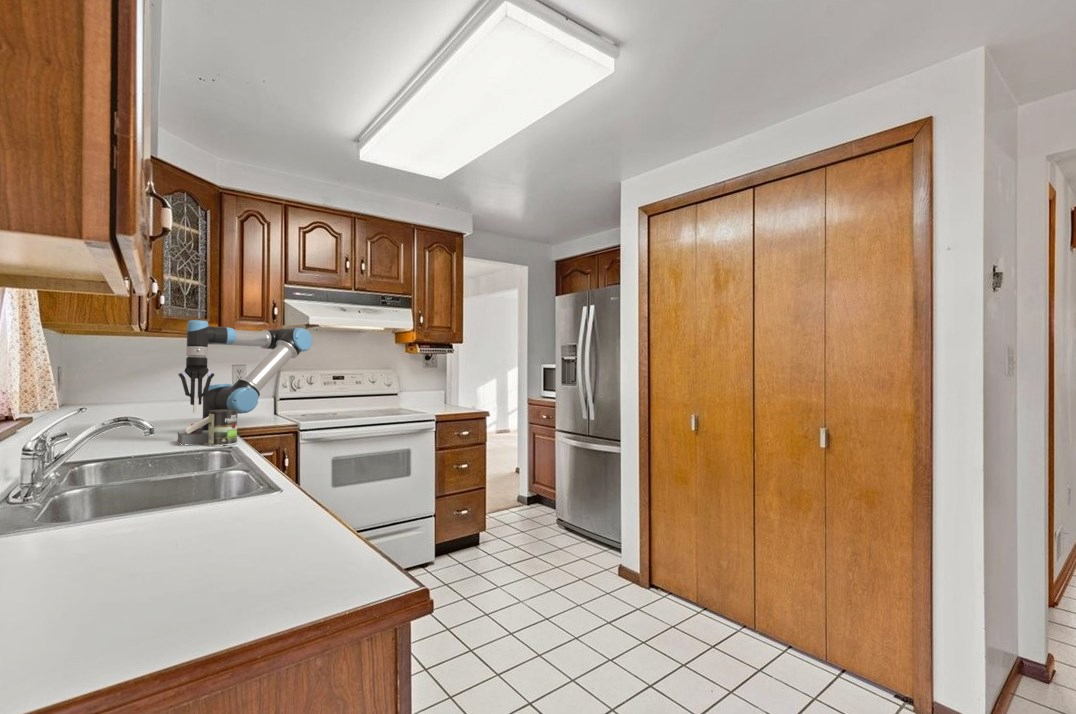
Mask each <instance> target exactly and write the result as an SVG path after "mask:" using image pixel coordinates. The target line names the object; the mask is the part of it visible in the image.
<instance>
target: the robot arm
mask: <svg viewBox="0 0 1076 714" xmlns="http://www.w3.org/2000/svg"><path fill="white" fill-rule="evenodd" d="M208 345H210V346H211V345H219V346H223V345H224V346H241V347H260V348H261V349H268V350H272V351H271V352H269V353H268V354H267V355H266V356H265V357H264V358H263V359H262V361H260V363H259V364H258V365H257V366H256V367H254V368H253V370H252V371H250V373H248V375H246V376H245V377H244V378H240V379H238V380H237V381H236V382H234V384H232V383H221V384H219V383H218V384H211V382H212V379H213V377H215V373H213V372H211V371H209V368H208V355H209V353H208V350H209V349H208ZM312 345H313V336H312V335H311V332H310V331H309V330H308V329H306V328H304V327H303V328H302V327H295V328H291V327H290V328H287V327H286V328H277V329H262V330H260V331H259V330H244V329H234V328H233V327H228V326H226V327H225V326H210V325H209V322H208V321H207V320H200V319H199V320H198V319H194V320H193V319H192V320H191V319H190V320H188V321H187V324H186V356H187V357H186V359H185V360H186V361H185V368H184V371H182V372H180V373H178V374H177V375H178V377H179V378H180V379H181V383H182V387H183V390H184V395H185V396H187V397H190V399H189V401H190V402H189V403H190V405H191V406H193V407H192V408H193V409H192V413H193V414H197V413H198V414H199V406H201V405H202V419H201V420H203V419H204V418H206V417H208V416H209V411H210V410H220V409H236V410H238V413H237V415H238V414H249V413H250V412H251V411H253V410H254V409H255V408H256V407H257V405H258V403H259V401H258V400H259V399H260V396H261V390H262V389H263V388H264V387H265V386H266V385H267V384H268V383H269V382H270V381H271V380H272V378H273V377H274V376H276V374H278V372H279V371H280V370H281V369H282V368H283V367H284V366H285V364H287V363H288V362H289V360H291V359H296V357H298V356H299V355H300V353H302V352H307V351H308V350H310V349H311V348H312ZM186 376H188V377H189V378H190V389H189V386H188V384H187V379H186ZM205 376H207V378H206V381H205V383H204V387H203V379H204V378H205ZM196 379H197V396H196V395H195V393H196V392H195V391H196ZM189 391H190V392H189ZM206 430H209V423H208V424H206V425H204V426H202V431H206Z"/></svg>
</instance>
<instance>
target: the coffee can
mask: <svg viewBox="0 0 1076 714" xmlns="http://www.w3.org/2000/svg"><path fill="white" fill-rule="evenodd" d="M237 413H238V410H236V409H220V410H210V411H209V441H208V444H207V446H208V445H211V446H210V447H222V446H221V445H230V446H232V445H231V444H235V445H237V444H238V414H237Z"/></svg>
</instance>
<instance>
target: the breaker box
mask: <svg viewBox="0 0 1076 714" xmlns="http://www.w3.org/2000/svg"><path fill="white" fill-rule="evenodd" d="M208 441H209V430H206V431H202V429H201V428H199V429H196V430H195V433H189V434H187V433H186V432H185V431H179V432H177V443H178V442H179V443H181V444H182V445H185V444H198V445H201V444H200V443H208ZM179 443H178V444H179ZM181 444H180V445H181ZM182 445H181V446H182Z"/></svg>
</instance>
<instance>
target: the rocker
mask: <svg viewBox="0 0 1076 714" xmlns="http://www.w3.org/2000/svg"><path fill="white" fill-rule="evenodd" d="M202 419H203V418H202ZM202 419H200V420H199V421H197V422H195V424H194V423H192V424H193V425H191V424H190V425H188V426H187V427H186V428H184V429H183V430H184V432H186V433H187V434H189V433H191V432H193V431H195V430H196V429H198V428H200V427H202V426H204V425H206V424H208V423H209V416H208V417H206V418H204V419H203V420H202Z"/></svg>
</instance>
